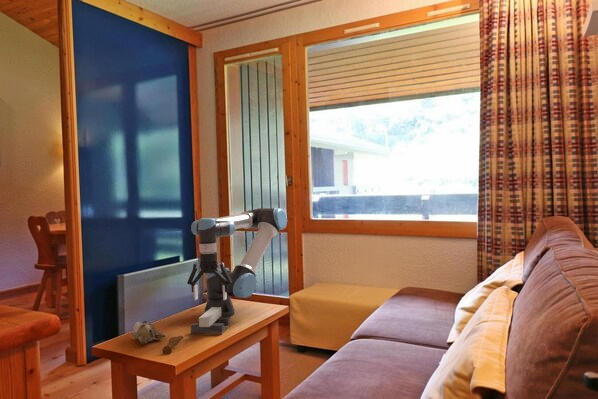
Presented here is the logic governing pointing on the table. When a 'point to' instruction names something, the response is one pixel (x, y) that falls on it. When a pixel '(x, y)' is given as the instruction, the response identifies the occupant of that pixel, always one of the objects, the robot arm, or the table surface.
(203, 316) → the clay strip
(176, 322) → the table surface
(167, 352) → the primitive tool
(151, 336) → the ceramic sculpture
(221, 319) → the dark grey rimmed tray
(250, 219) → the robot arm
